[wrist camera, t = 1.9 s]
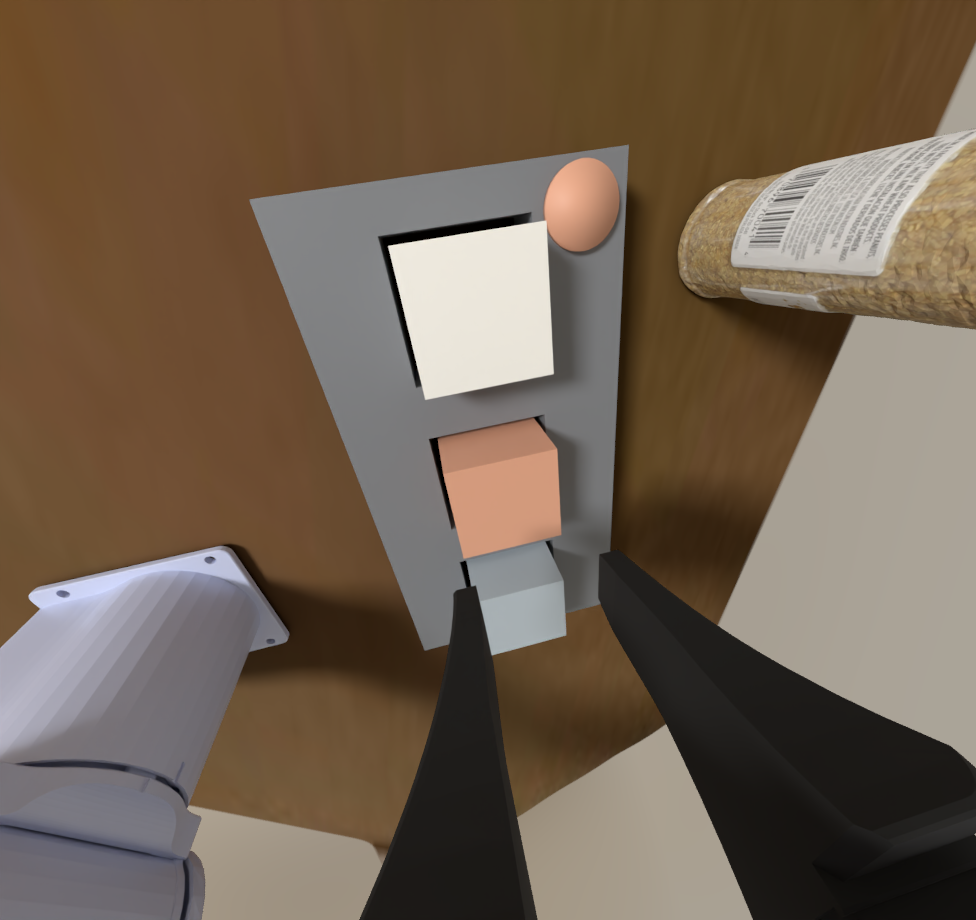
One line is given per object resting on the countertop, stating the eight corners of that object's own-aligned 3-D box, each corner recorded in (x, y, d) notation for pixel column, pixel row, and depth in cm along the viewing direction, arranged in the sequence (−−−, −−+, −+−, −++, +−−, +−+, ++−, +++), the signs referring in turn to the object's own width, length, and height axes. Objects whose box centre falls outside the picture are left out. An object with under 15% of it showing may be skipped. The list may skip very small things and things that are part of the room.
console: (423, 616, 25) (424, 655, 22) (274, 208, 13) (245, 198, 11) (591, 573, 26) (610, 605, 24) (595, 161, 14) (633, 142, 12)
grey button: (477, 605, 23) (487, 656, 20) (464, 553, 21) (474, 603, 18) (546, 587, 23) (566, 635, 20) (541, 534, 21) (563, 580, 18)
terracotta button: (455, 512, 19) (463, 558, 16) (437, 435, 17) (443, 474, 14) (538, 492, 19) (561, 534, 17) (531, 415, 17) (557, 448, 14)
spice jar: (700, 317, 18) (1212, 432, 7) (654, 242, 16) (1287, 219, 4) (781, 239, 17) (1567, 215, 5) (744, 148, 15) (1889, -202, 3)
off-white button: (421, 371, 15) (425, 400, 12) (392, 247, 13) (388, 246, 10) (526, 351, 16) (553, 374, 13) (516, 227, 13) (546, 220, 10)
